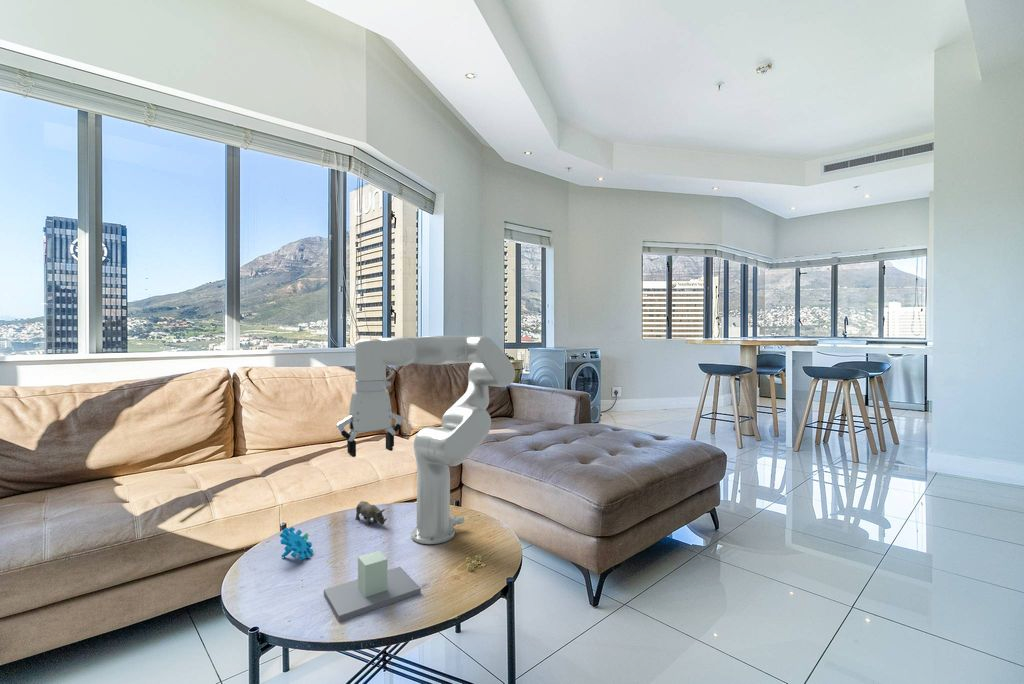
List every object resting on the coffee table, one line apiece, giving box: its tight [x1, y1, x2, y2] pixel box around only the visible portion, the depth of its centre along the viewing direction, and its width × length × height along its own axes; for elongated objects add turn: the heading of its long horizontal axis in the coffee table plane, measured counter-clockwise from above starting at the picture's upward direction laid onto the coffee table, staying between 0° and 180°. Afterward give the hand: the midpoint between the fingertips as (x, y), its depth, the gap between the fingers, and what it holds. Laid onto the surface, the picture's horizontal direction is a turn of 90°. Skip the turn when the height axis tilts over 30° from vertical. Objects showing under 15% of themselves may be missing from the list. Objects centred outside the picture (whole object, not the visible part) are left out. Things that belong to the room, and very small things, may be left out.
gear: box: [279, 526, 314, 561], centre depth 122 cm, size 11×6×10 cm
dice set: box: [465, 554, 486, 572], centre depth 118 cm, size 5×5×2 cm
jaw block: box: [357, 550, 388, 597], centre depth 104 cm, size 5×5×7 cm
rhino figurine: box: [354, 500, 388, 526], centre depth 144 cm, size 4×14×6 cm, turn 54°
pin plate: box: [323, 566, 422, 622], centre depth 104 cm, size 18×12×4 cm, turn 126°
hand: (371, 452), depth 120 cm, fingers open, 9 cm apart
